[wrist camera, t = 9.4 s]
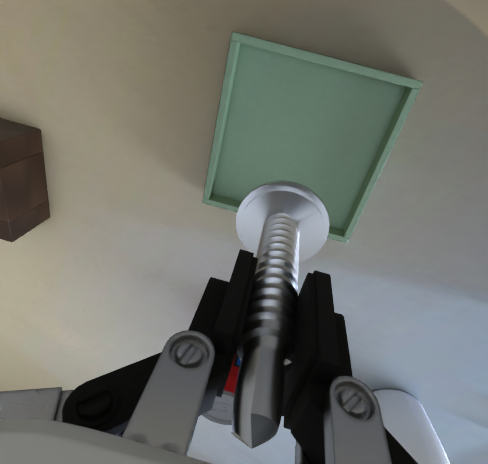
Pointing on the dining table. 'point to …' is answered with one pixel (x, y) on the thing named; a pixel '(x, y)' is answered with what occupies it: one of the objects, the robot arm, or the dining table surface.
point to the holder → (21, 180)
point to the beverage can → (225, 398)
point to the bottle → (410, 426)
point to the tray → (304, 127)
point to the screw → (272, 299)
